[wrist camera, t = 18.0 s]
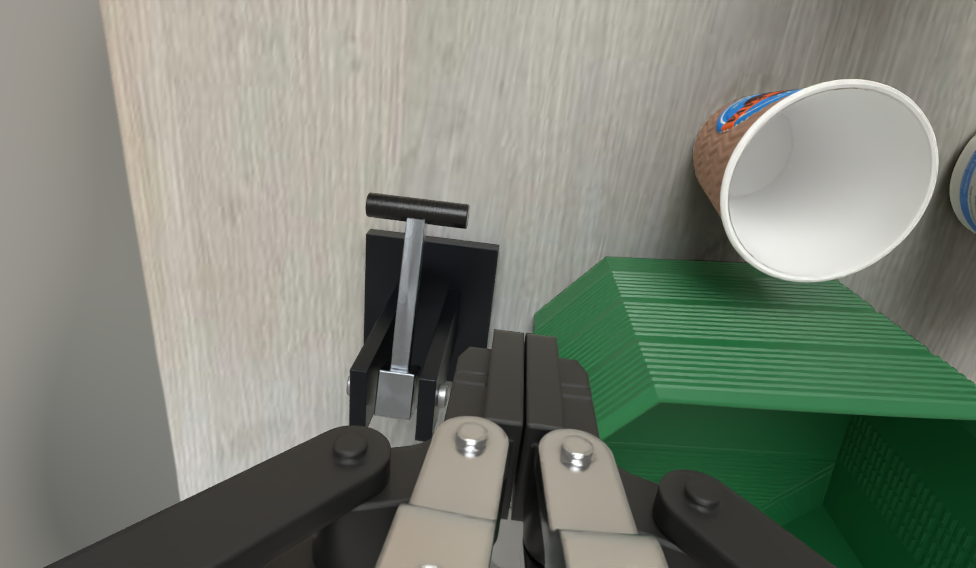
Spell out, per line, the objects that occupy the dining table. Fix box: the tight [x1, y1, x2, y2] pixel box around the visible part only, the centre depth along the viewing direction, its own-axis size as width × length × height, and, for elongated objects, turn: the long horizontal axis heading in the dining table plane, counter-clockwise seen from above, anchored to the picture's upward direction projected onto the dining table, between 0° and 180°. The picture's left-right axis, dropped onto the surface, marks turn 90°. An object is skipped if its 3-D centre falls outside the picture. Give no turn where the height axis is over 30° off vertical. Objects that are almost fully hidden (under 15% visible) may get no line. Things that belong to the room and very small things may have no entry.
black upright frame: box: [347, 229, 499, 442], centre depth 39 cm, size 12×10×14 cm
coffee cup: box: [693, 79, 939, 282], centre depth 33 cm, size 10×10×12 cm
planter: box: [533, 257, 976, 568], centre depth 39 cm, size 26×26×18 cm
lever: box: [366, 193, 469, 420], centre depth 34 cm, size 13×6×2 cm, turn 174°
